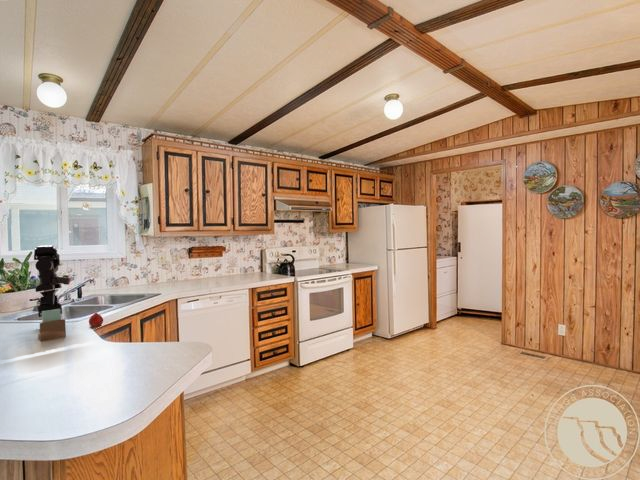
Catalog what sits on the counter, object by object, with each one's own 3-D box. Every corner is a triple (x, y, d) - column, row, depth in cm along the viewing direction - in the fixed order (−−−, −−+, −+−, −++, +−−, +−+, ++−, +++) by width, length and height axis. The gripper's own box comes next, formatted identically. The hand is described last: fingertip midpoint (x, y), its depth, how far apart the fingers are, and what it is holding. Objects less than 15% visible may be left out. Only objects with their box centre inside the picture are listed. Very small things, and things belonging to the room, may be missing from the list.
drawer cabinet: (36, 337, 154) (35, 317, 154) (59, 333, 160) (59, 314, 160) (40, 344, 144) (39, 323, 144) (66, 339, 151) (65, 319, 150)
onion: (86, 329, 166) (86, 312, 166) (98, 326, 171) (98, 310, 171) (93, 330, 163) (93, 314, 163) (105, 327, 169) (105, 311, 168)
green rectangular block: (43, 338, 148) (41, 311, 148) (60, 335, 153) (59, 308, 152) (44, 340, 146) (42, 312, 146) (61, 336, 151) (60, 309, 150)
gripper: (63, 268, 156) (68, 302, 156) (71, 269, 173) (76, 300, 172) (32, 273, 151) (38, 308, 151) (43, 273, 168) (48, 305, 167)
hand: (52, 305), depth 160 cm, fingers closed
